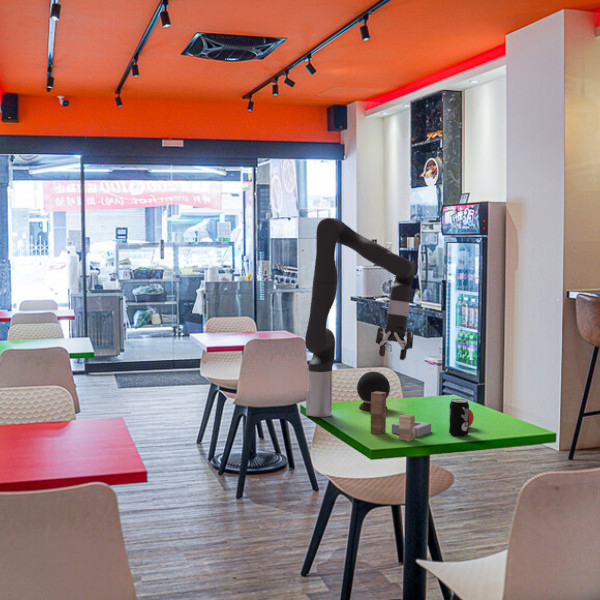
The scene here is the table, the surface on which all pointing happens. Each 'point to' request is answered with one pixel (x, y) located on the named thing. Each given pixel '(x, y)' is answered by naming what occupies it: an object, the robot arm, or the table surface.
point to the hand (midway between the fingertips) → (392, 358)
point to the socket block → (420, 428)
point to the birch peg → (406, 427)
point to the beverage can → (459, 417)
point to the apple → (470, 417)
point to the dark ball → (371, 388)
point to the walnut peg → (378, 412)
